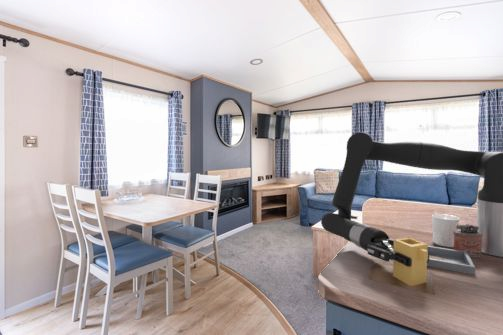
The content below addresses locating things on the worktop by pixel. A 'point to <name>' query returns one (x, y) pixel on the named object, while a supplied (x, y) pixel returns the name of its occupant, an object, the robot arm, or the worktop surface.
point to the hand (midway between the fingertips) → (419, 260)
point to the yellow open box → (419, 261)
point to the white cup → (444, 229)
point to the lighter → (468, 240)
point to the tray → (451, 260)
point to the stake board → (386, 275)
